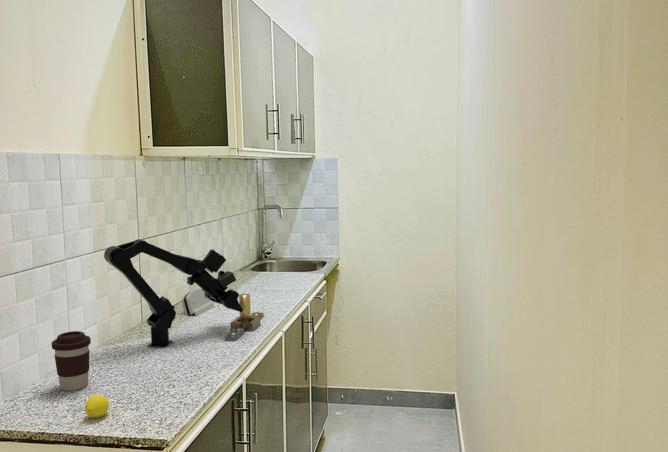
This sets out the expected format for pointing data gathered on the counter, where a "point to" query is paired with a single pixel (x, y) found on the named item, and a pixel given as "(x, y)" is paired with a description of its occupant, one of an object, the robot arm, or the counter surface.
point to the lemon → (96, 406)
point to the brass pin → (245, 308)
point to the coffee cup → (72, 359)
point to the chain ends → (243, 326)
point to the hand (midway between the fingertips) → (236, 308)
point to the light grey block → (196, 302)
